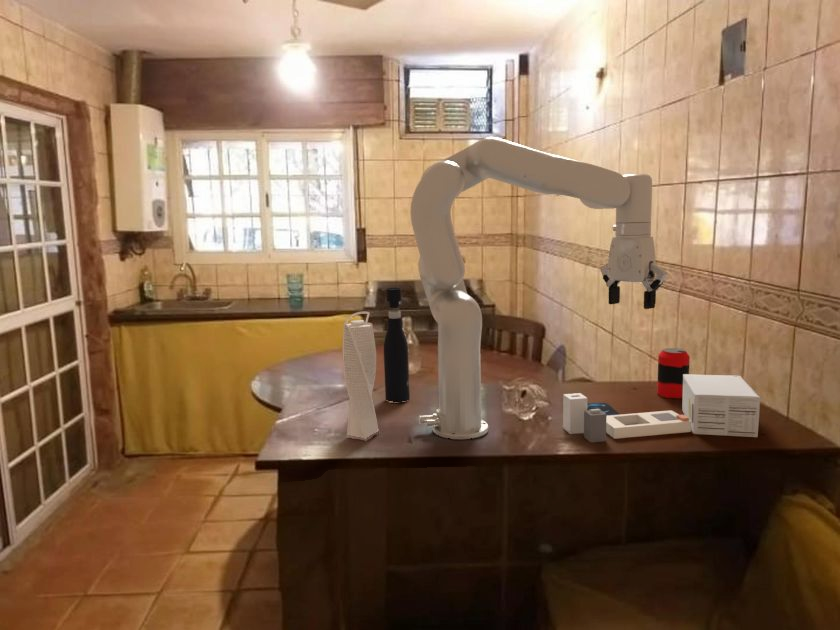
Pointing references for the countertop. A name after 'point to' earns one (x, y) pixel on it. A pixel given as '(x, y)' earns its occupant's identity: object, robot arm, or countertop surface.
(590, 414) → the cable plug
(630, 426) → the power strip
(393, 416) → the countertop surface
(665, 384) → the soda can
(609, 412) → the smartphone
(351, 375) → the skyscraper
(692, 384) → the supplement box
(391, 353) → the wine bottle
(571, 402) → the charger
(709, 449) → the countertop surface
